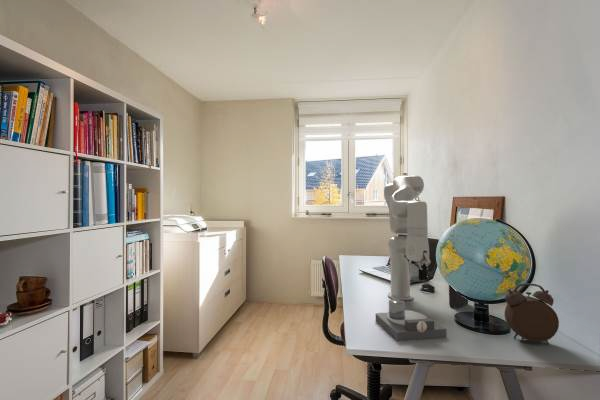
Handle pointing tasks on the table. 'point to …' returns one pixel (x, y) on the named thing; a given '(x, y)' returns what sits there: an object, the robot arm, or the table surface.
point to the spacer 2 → (415, 272)
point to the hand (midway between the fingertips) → (418, 277)
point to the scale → (411, 326)
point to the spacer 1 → (396, 309)
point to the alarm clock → (531, 314)
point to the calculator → (456, 299)
